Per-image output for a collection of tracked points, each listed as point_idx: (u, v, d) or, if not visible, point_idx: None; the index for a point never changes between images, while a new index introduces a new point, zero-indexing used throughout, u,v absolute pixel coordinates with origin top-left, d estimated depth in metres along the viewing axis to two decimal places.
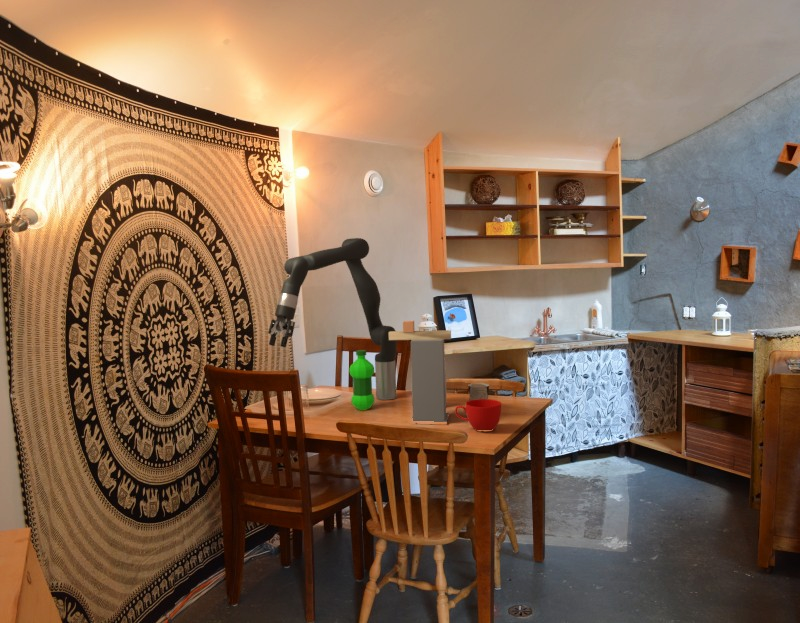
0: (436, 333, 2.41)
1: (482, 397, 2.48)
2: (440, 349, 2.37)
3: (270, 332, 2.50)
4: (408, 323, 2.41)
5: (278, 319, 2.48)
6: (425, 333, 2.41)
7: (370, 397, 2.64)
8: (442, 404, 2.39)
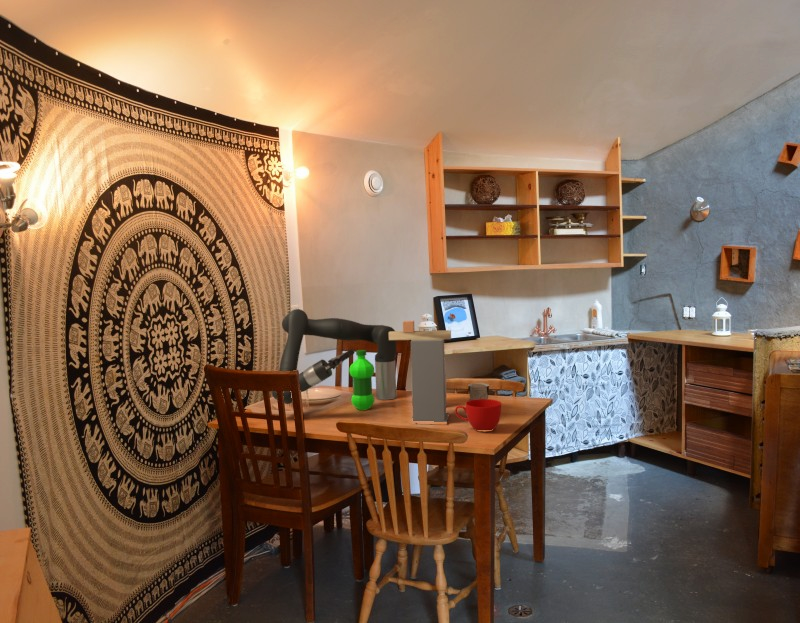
0: (436, 333, 2.41)
1: (482, 397, 2.48)
2: (440, 349, 2.37)
3: None
4: (408, 323, 2.41)
5: None
6: (425, 333, 2.41)
7: (370, 397, 2.64)
8: (442, 404, 2.39)
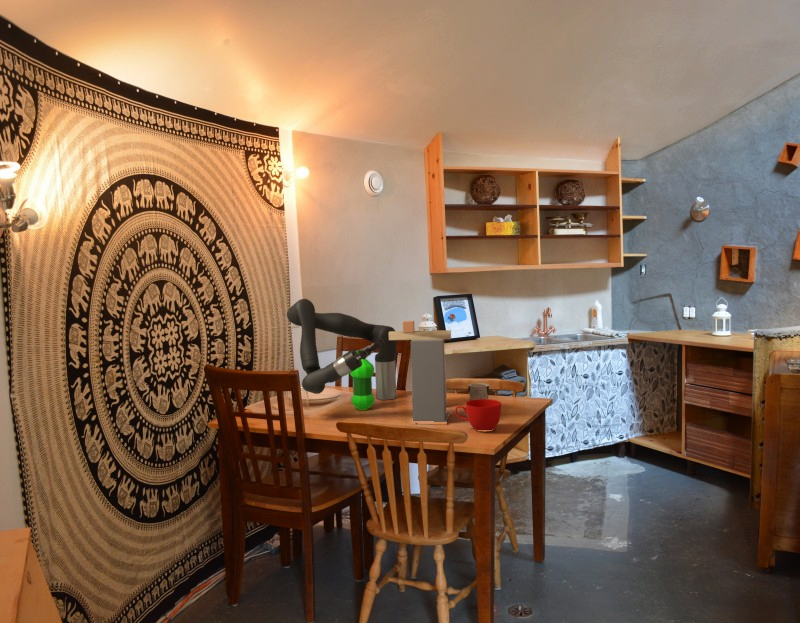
0: (436, 333, 2.41)
1: (482, 397, 2.48)
2: (440, 349, 2.37)
3: None
4: (408, 323, 2.41)
5: None
6: (425, 333, 2.41)
7: (370, 397, 2.64)
8: (442, 404, 2.39)
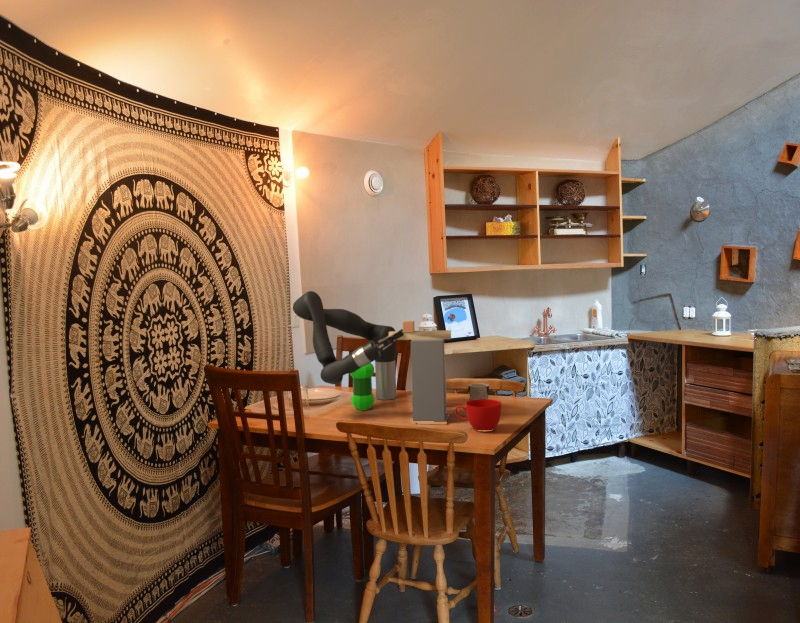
0: (436, 333, 2.41)
1: (482, 397, 2.48)
2: (440, 349, 2.37)
3: None
4: (408, 323, 2.41)
5: None
6: (425, 333, 2.41)
7: (370, 397, 2.64)
8: (442, 404, 2.39)
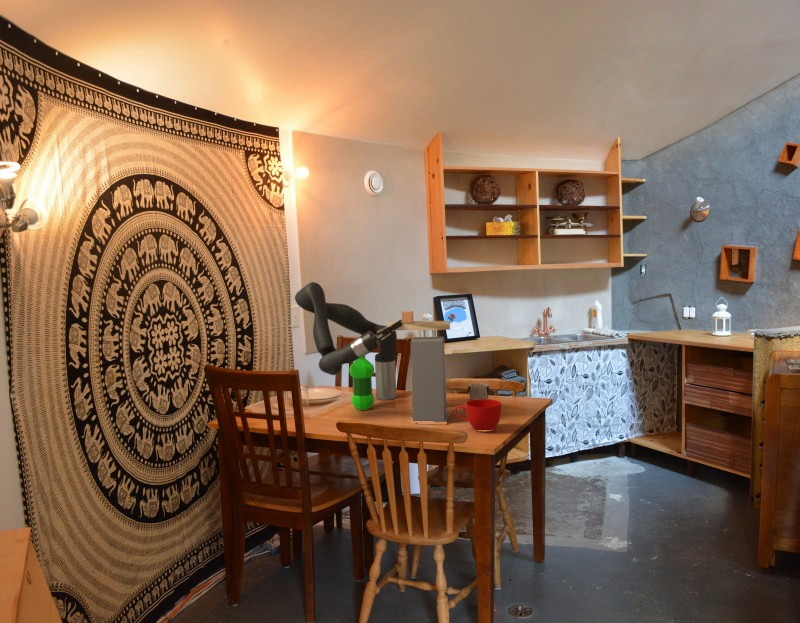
0: (435, 323, 2.40)
1: (482, 397, 2.48)
2: (440, 349, 2.37)
3: None
4: (407, 313, 2.41)
5: None
6: (424, 323, 2.41)
7: (370, 397, 2.64)
8: (442, 404, 2.39)
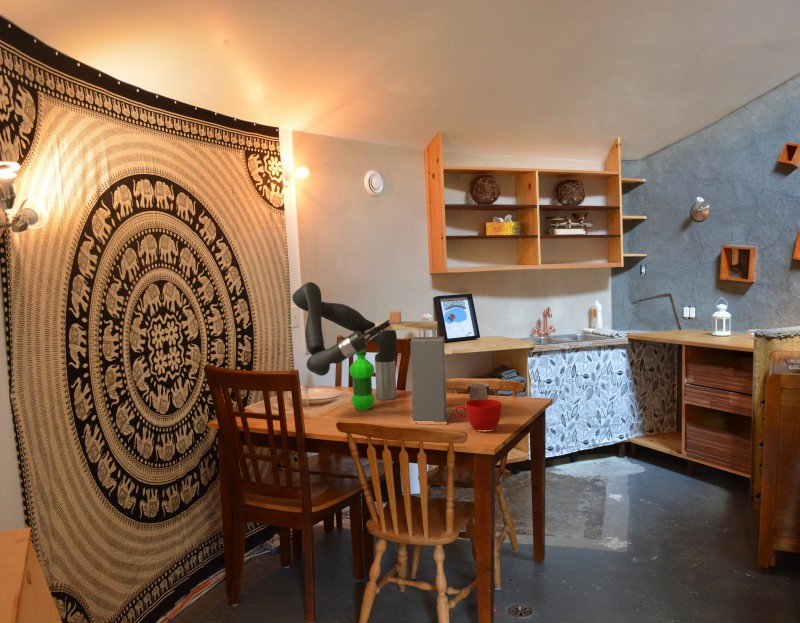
0: (422, 324, 2.41)
1: (482, 397, 2.48)
2: (440, 349, 2.37)
3: None
4: (394, 313, 2.42)
5: None
6: (411, 324, 2.42)
7: (370, 397, 2.64)
8: (442, 404, 2.39)
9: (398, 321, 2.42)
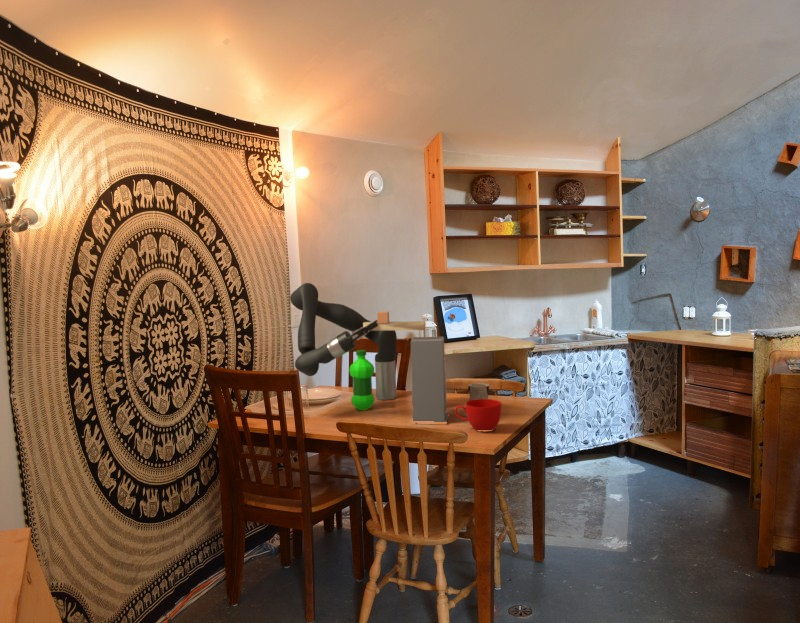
0: (410, 324, 2.42)
1: (482, 397, 2.48)
2: (440, 349, 2.37)
3: None
4: (382, 314, 2.42)
5: None
6: (399, 324, 2.42)
7: (370, 397, 2.64)
8: (442, 404, 2.39)
9: (386, 321, 2.42)
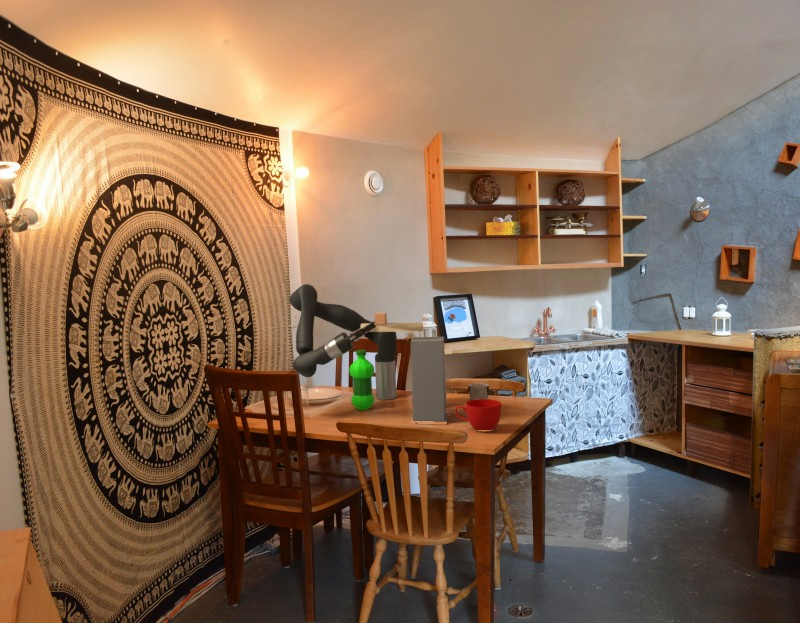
0: (408, 325, 2.42)
1: (482, 397, 2.48)
2: (440, 349, 2.37)
3: None
4: (380, 315, 2.42)
5: None
6: (397, 325, 2.42)
7: (370, 397, 2.64)
8: (442, 404, 2.39)
9: (383, 323, 2.43)
